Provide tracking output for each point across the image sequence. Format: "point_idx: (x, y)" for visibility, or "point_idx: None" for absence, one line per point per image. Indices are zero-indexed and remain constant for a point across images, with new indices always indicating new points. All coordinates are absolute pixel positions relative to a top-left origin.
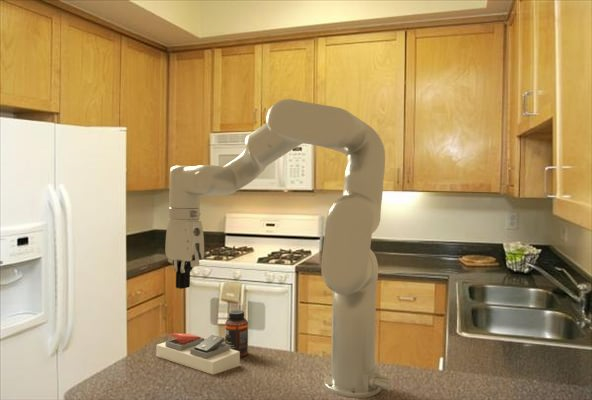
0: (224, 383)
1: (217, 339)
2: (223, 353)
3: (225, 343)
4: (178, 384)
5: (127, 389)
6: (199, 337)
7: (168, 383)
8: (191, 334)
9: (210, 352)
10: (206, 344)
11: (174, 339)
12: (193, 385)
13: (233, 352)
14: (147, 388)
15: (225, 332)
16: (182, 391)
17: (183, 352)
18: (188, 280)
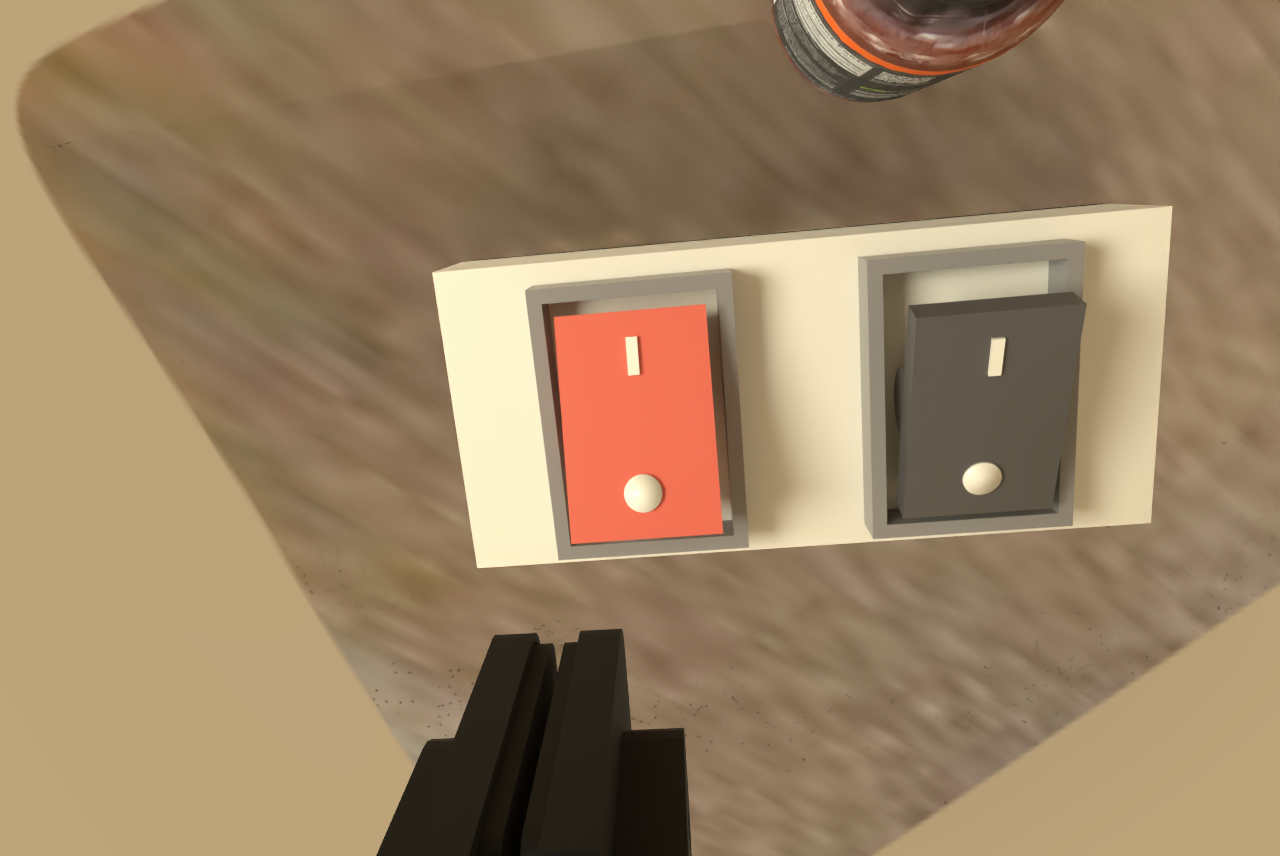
0: (1193, 463)
1: (1036, 353)
2: (1083, 339)
3: (830, 78)
4: (955, 651)
5: (778, 851)
6: (705, 309)
7: (894, 678)
8: (592, 320)
9: (1073, 481)
10: (983, 451)
11: (562, 477)
12: (1044, 604)
13: (1140, 262)
14: (854, 784)
15: (848, 63)
16: (1053, 691)
17: (794, 535)
18: (686, 791)
